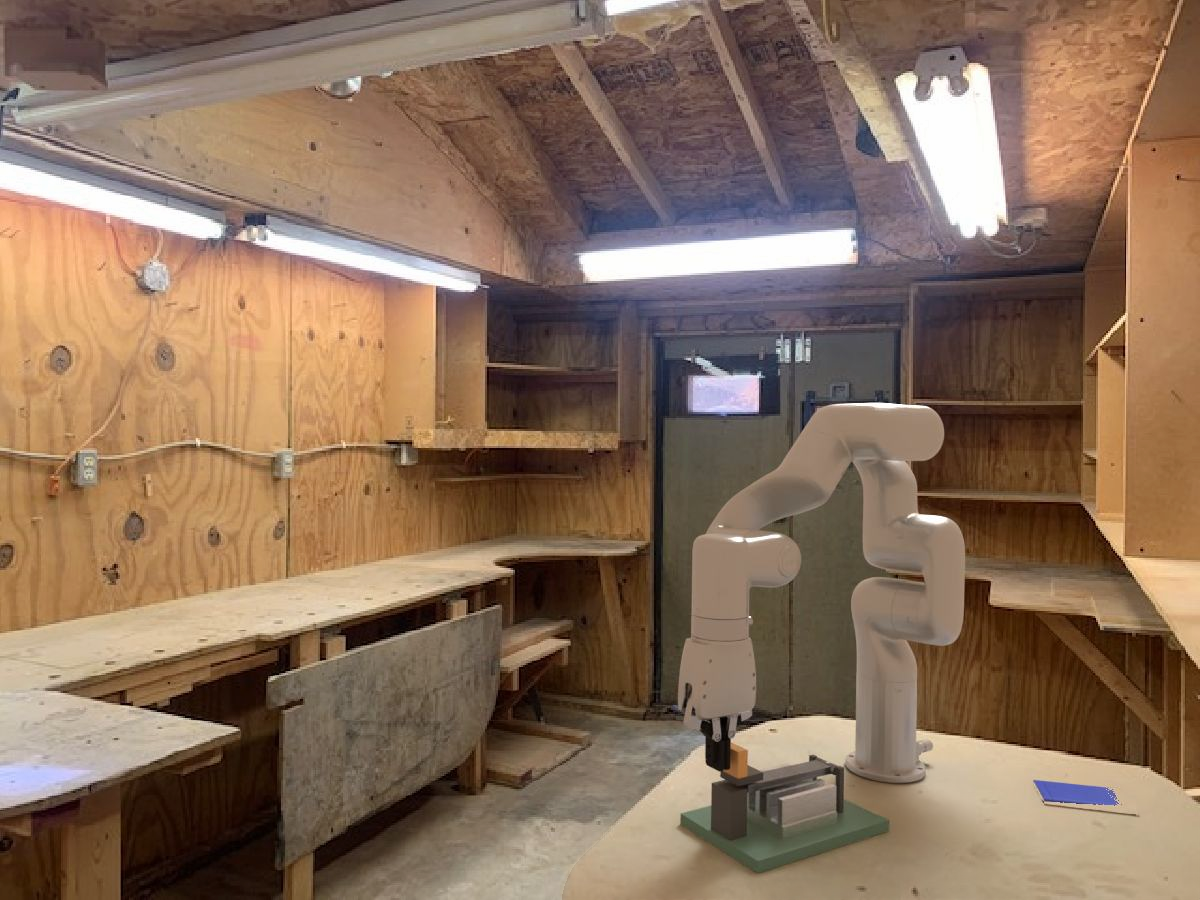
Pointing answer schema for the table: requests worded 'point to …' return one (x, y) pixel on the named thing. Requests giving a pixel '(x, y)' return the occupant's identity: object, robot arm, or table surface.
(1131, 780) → the table surface
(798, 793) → the heat sink
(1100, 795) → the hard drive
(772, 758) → the table surface
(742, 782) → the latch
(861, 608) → the robot arm
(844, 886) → the table surface
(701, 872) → the table surface
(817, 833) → the board
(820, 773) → the strap
